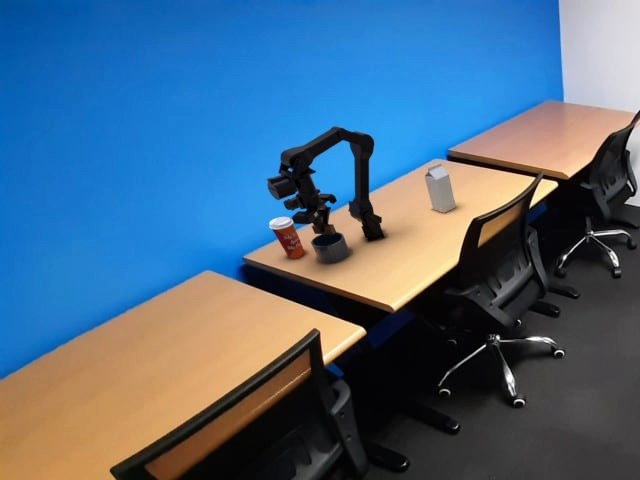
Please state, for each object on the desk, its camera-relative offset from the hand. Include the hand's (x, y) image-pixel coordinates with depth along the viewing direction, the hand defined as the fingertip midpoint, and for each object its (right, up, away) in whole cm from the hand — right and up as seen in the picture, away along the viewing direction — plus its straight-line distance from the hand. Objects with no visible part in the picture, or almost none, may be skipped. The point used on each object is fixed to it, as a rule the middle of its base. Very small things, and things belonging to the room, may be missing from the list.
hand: (324, 230), depth 168 cm
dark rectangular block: (0, -1, +1) cm, 1 cm away
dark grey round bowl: (0, -8, +7) cm, 11 cm away
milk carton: (+31, +18, +37) cm, 52 cm away
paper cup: (-15, -7, +8) cm, 19 cm away
